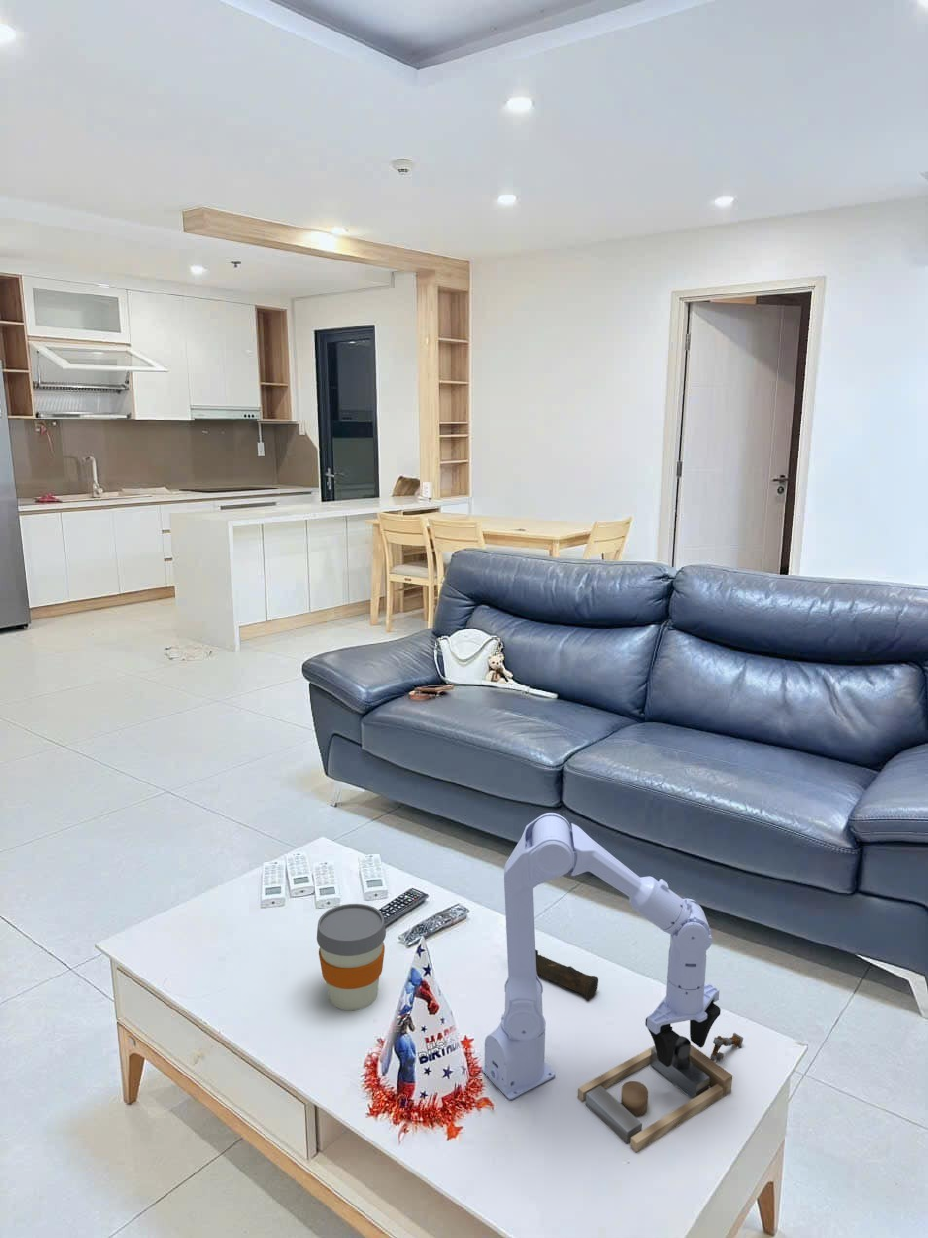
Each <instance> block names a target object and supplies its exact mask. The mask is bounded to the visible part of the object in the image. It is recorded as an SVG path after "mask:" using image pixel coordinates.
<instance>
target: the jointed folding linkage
mask: <svg viewBox="0 0 928 1238" xmlns="http://www.w3.org/2000/svg"><path fill="white" fill-rule="evenodd" d="M713 1038H714V1039H713V1042H712V1043H713V1044H714V1045H713V1050H712V1053H711V1054H710V1056H709V1058H710V1059H711V1060H713V1061H714V1062H715V1063H716V1060H718V1061H719V1062H720V1061H721V1060H723V1059H724V1056H725V1053H723V1052H722V1051H720V1048H721V1047H723V1046H725V1047H728V1046H730V1047H731V1046H733V1045H734V1046H735V1047H736V1048H738V1049H741V1047H742V1044H743V1041H744V1037H743V1036H741V1035H739V1034H737V1033H736V1032H733V1033H732V1036H731V1037H724V1036H723V1037H722V1036H720V1035H718V1036H716V1037H713Z"/></svg>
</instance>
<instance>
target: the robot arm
mask: <svg viewBox="0 0 928 1238" xmlns="http://www.w3.org/2000/svg"><path fill="white" fill-rule="evenodd" d="M569 872H570V876H571V877H575V876H578V875H582V874H584V873H588V872H589V873H590V874H592V875H594V876H595V877H597V878H599V879H601V880H602V881H603V882H605V883H607V884H608V885H610V886H611V887H613V888H614V889H617V890H618V891H619V892H621V893H623V894H624V895H626V897H627V896H628V899H629V905H630V908H631V909H632V910H633V911H635V912H636V913H638V914H639V915H640V916H642V917H643V918H644V919H646V920H647V921H649V922H650V923H652V924H653V925H655V927H657V928H659V929H660V930H662V931H663V932H665V933H667V934H669V935H670V941H669V947H668V948H669V949H668V958H667V959H668V960H667V974H666V975H667V976H666V988H665V989H666V991H665V997H664V998H663V999H662V1000H661V1002H660V1003H659V1004H658V1005H657V1007H656V1008H655V1009H654V1011H653V1012H652V1013H650V1014H649V1015H648V1016H647V1017H645V1021H644V1022H645V1023H644V1025H645V1027H646V1028H647V1030H648V1032H649V1033H650V1036H651V1037H652V1040H653V1044H654V1046H655V1047H656V1051H657V1056H658V1060H659V1061H660V1062H661V1063H662V1064H664V1065H665V1066H666V1067H669V1066H671V1063H672V1059H673V1052H674V1048H675V1045H676V1042H677V1040H678V1039H679V1037H680V1036H681V1035H679V1034H678V1033H677V1032H676V1031H674V1030H673V1026H671V1024H676V1023H683V1022H686V1021H689V1037H690V1042H692V1043H693V1044H694V1045H696V1046H697V1047H699V1048H700V1049H702V1048H703V1047H704V1046H705V1043H706V1040H707V1039H708V1036H709V1033H710V1030H711V1029H712V1026H713V1025H714V1023H715V1021H716V1020H717V1019H718V1017H719V1016H721V1008H720V1007H719V1006H718V1005H717V1004H715V1002H717V1001H719V1000H720V989H719V988H717V987H716V986H714V985H713V984H711V983H709V984H708V983H707V984H706V985H705V983H706V968H707V951H708V950H709V948H710V947H711V945H712V943H713V941H714V938H713V937H712V930H711V928H710V925H709V923H708V920H707V917H706V914H705V912H704V910H703V908H702V907H701V906H700V904H698V903H697V901H696V900H694V899H691V898H682V897H680V895H678V894H677V893H676V892H673V891H672V890H671V889H669V885H668V882H667V881H665V880H664V879H662V878H661V879H659V881H658V879H656V878H654V877H653V876H643V877H640V876H638V874H636V873H635V872H633V871H632V870H631V869H630V868H629V867H628V866H627V865H625V864H624V863H622V862H621V861H620V860H619V859H617V858H616V857H615V856H614V855H612V853H610V852H609V851H607V850H606V848H604V847H602V846H601V845H600V844H598V842H596V841H595V840H594V839H592V838H591V836H589V835H588V834H587V833H586V832H585V831H584V830H583V829H582V828H581V827H580V826H578V825H577V824H574V823H573V822H571V825H570V823H569V821H568V820H567V819H566V817H564V816H562V815H561V814H559V813H555V812H547V813H543V814H541V815H539V816H538V817H536V818H535V819H533V820H531V822H530V823H528V824H527V825H526V826H525V829H524V831H523V833H522V836H521V837H520V839H519V841H518V843H517V844H516V846H515V847H514V849H513V851H512V852H511V854H510V855H509V858H508V859H507V860H506V862H505V864H504V867H503V884H504V885H503V886H504V887H503V888H504V889H503V890H504V910H505V930H506V934H505V935H506V953H507V974H508V975H507V976H508V977H507V978H506V980H505V983H504V1011H503V1014H501V1017H500V1023H499V1025H498V1026H497V1027H496V1028H495V1029H494V1031H492V1032H491V1033H489V1034H488V1035H487V1036H486V1038H485V1040H484V1065H483V1066H481V1071H482V1070H483V1071H482V1073H483V1074H484V1073H485V1074H486V1075H485V1074H484V1075H485V1076H486V1077H487V1076H488V1077H489V1078H488V1077H487V1078H488V1079H489V1080H490V1081H491V1083H493V1084H494V1085H495V1086H496V1088H498V1089H499V1091H500V1092H501V1093H502V1094H503V1095H504V1096H505V1097H506V1099H508V1100H513V1099H515V1098H518V1097H519V1096H521V1095H523V1094H525V1093H526V1092H528V1091H530V1090H532V1089H534V1088H537V1086H539V1085H542V1084H543V1083H545V1082H547V1081H549V1080H551V1079H553V1078H554V1077H556V1072H555V1071H554V1070H553V1069H552V1068H551V1067H550V1066H549V1065H548V1064H547V1063H546V1062H545V1057H546V1055H545V1052H546V1019H545V1017H544V1015H543V991H544V987H543V983H542V981H541V979H540V978H539V976H538V974H537V973H536V956H535V949H536V936H535V935H536V934H535V908H534V888H535V887H537V886H539V885H541V884H545V883H547V882H550V881H553V880H556V879H558V878H561V877H563V876H565V875H566V874H568V873H569Z"/></svg>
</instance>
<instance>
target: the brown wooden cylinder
mask: <svg viewBox="0 0 928 1238" xmlns="http://www.w3.org/2000/svg"><path fill="white" fill-rule="evenodd" d="M620 1098H621V1099H620V1100H621V1101H620V1102H621V1103H620V1104H621V1105H623V1106H624V1107H625V1108H626V1109H627V1110H628V1111H629V1112H630V1113H631V1114H632V1115H634V1116H635V1117H636V1118H637V1117H643V1116H644V1115H645V1114H647V1112H648V1104H649V1102H648V1101H649V1089H648V1088H647V1086H646V1085H645V1084H643V1082H640V1081H636V1080H629V1081H626V1082H624V1083H623V1085H622V1086H621V1097H620Z"/></svg>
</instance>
